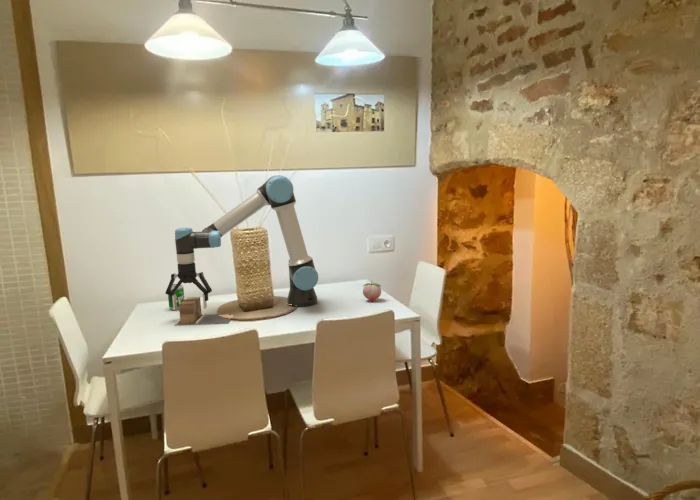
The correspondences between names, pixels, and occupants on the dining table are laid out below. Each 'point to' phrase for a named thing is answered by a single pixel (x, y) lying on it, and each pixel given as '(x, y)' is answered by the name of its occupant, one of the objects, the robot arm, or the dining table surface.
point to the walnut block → (190, 310)
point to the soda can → (177, 296)
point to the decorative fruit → (372, 291)
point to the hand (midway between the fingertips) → (190, 308)
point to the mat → (207, 320)
